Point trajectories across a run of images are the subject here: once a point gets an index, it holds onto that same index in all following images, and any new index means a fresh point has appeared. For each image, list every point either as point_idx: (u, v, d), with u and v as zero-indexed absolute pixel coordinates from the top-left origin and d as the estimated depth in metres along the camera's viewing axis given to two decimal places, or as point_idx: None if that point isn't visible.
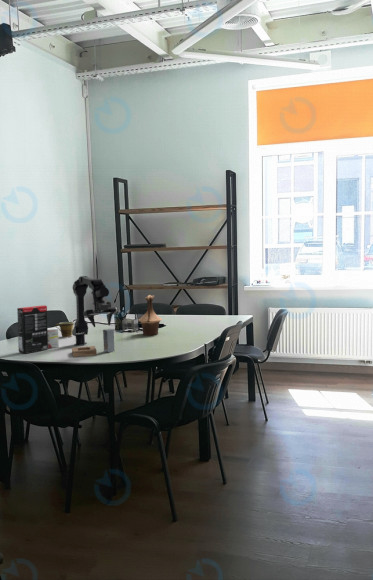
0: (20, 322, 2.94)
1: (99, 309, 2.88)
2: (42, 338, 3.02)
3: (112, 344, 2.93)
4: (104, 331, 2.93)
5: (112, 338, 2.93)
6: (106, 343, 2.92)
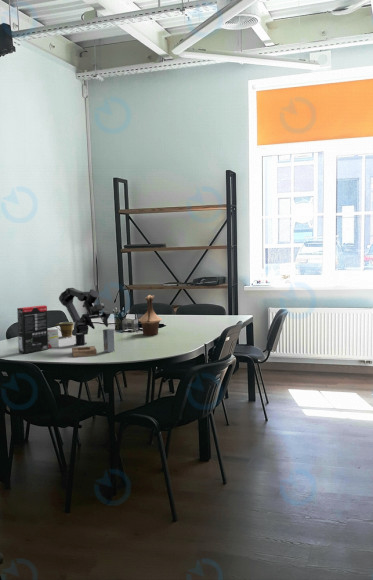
0: (20, 322, 2.94)
1: (94, 312, 3.02)
2: (42, 338, 3.02)
3: (112, 344, 2.93)
4: (104, 331, 2.93)
5: (112, 338, 2.93)
6: (106, 343, 2.92)
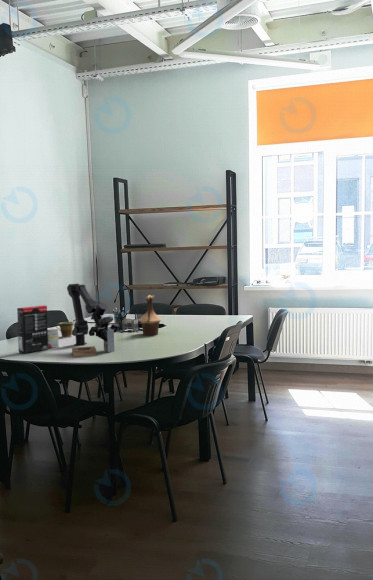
0: (20, 322, 2.94)
1: (103, 325, 2.95)
2: (42, 338, 3.02)
3: (112, 344, 2.93)
4: (104, 331, 2.93)
5: (112, 338, 2.93)
6: (106, 343, 2.92)
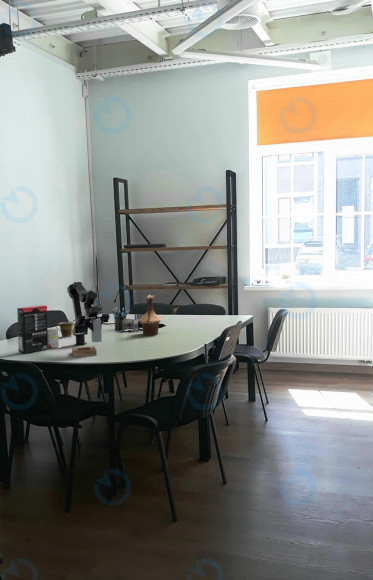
0: (20, 322, 2.94)
1: (91, 314, 2.92)
2: (42, 338, 3.02)
3: (99, 334, 2.89)
4: (91, 321, 2.89)
5: (99, 328, 2.89)
6: (93, 333, 2.88)
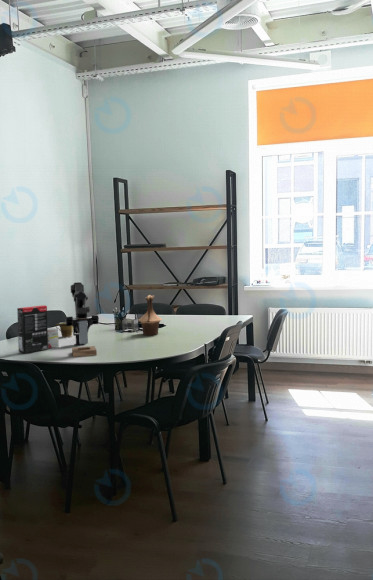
0: (20, 322, 2.94)
1: (79, 315, 2.90)
2: (42, 338, 3.02)
3: (85, 336, 2.86)
4: None
5: (85, 330, 2.86)
6: (79, 334, 2.87)
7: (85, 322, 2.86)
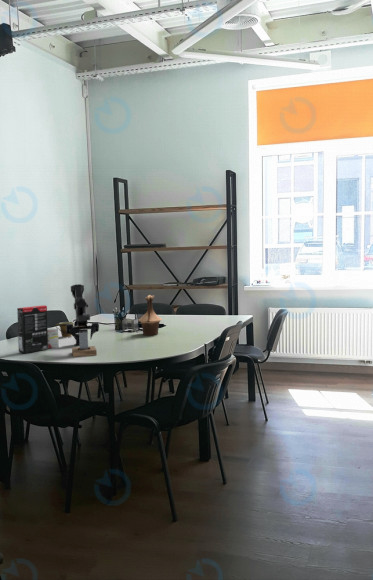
0: (20, 322, 2.94)
1: (80, 323, 2.91)
2: (42, 338, 3.02)
3: (85, 347, 2.87)
4: None
5: (85, 341, 2.86)
6: None
7: (85, 333, 2.86)
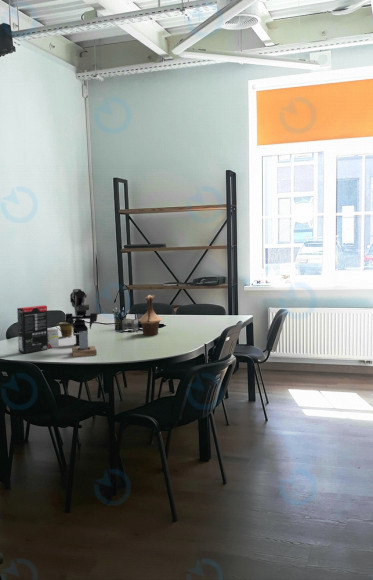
0: (20, 322, 2.94)
1: (79, 313, 3.00)
2: (42, 338, 3.02)
3: (85, 347, 2.87)
4: None
5: (85, 341, 2.87)
6: None
7: (85, 333, 2.86)
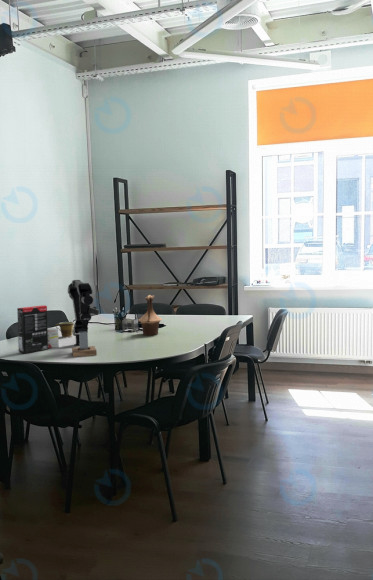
0: (20, 322, 2.94)
1: None
2: (42, 338, 3.02)
3: (85, 347, 2.87)
4: None
5: (85, 341, 2.87)
6: None
7: (85, 333, 2.86)
